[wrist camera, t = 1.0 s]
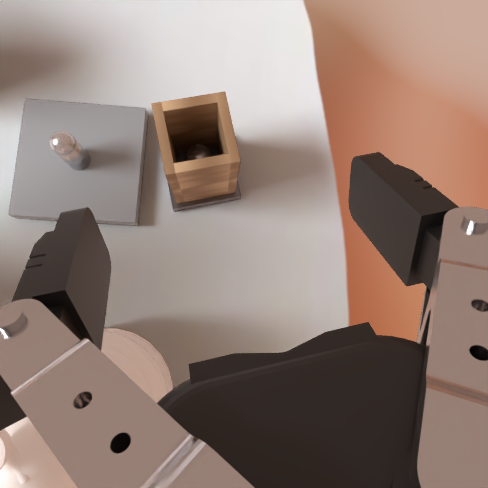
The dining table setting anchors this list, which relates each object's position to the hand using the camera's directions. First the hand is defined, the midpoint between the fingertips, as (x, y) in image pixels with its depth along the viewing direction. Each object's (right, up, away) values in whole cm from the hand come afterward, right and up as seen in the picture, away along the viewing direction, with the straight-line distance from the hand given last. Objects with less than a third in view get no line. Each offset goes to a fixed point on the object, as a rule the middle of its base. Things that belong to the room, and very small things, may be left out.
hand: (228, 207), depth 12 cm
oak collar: (-4, +6, +28) cm, 29 cm away
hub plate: (-16, +7, +28) cm, 33 cm away
